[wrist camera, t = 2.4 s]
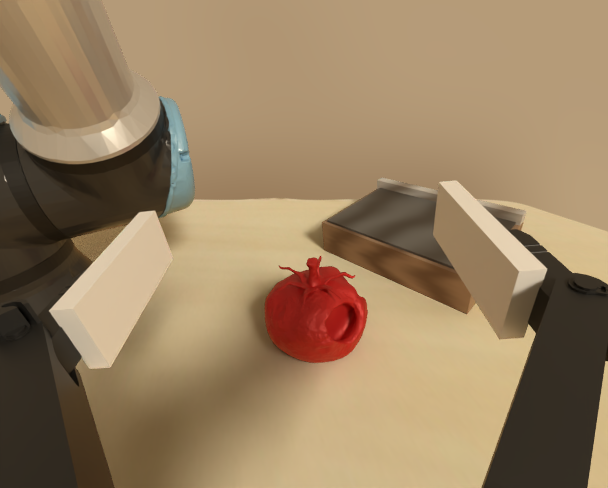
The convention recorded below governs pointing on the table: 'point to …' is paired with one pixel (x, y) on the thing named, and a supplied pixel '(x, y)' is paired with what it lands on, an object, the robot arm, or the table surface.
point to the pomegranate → (315, 314)
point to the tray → (404, 239)
